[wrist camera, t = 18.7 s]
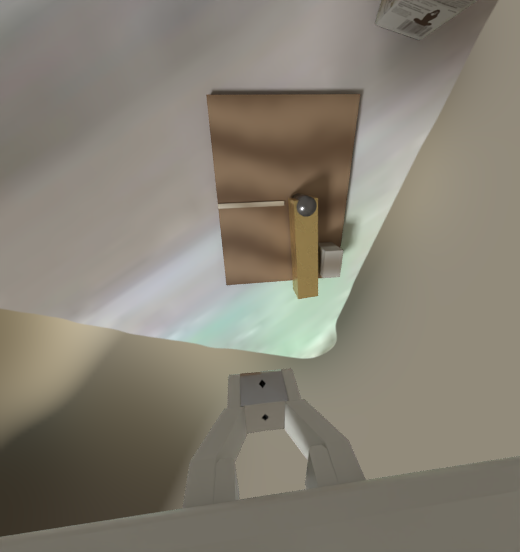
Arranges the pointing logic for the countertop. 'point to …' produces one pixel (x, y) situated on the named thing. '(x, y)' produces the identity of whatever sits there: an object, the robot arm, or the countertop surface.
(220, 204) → the board
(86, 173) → the countertop surface
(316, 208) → the bar
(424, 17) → the coffee box
